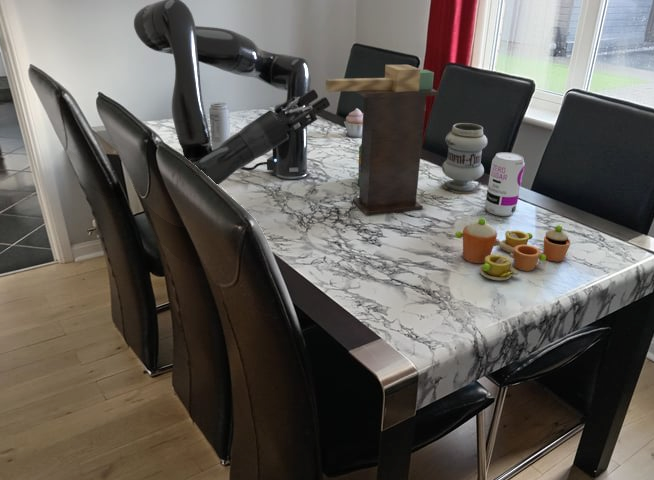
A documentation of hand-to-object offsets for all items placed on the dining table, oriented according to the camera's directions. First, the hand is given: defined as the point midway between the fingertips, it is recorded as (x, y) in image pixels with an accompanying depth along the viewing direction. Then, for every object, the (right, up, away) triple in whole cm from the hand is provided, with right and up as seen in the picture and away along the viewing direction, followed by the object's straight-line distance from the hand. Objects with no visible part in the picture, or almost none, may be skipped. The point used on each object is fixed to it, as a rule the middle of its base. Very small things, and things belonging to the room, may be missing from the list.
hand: (321, 96), depth 133 cm
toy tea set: (+43, -38, -4) cm, 58 cm away
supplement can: (+46, -24, +22) cm, 56 cm away
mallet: (+11, +3, +4) cm, 12 cm away
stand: (+16, -22, +21) cm, 34 cm away
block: (+24, +5, +9) cm, 26 cm away
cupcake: (+6, +13, +82) cm, 83 cm away
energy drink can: (-37, +1, +56) cm, 67 cm away
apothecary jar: (+38, -15, +36) cm, 55 cm away
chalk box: (+13, -14, +36) cm, 41 cm away
